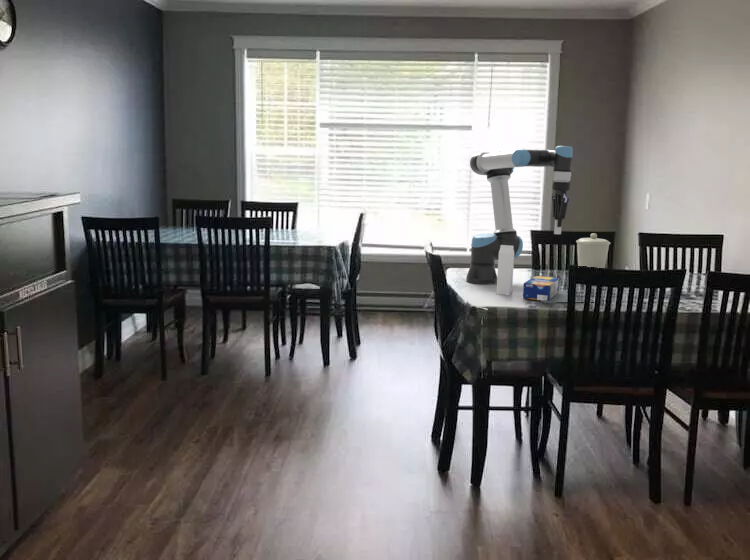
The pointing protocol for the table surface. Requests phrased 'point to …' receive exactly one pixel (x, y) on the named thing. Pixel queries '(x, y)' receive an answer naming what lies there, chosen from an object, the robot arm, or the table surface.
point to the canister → (592, 251)
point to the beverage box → (541, 288)
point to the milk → (505, 269)
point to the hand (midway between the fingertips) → (557, 234)
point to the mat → (558, 297)
